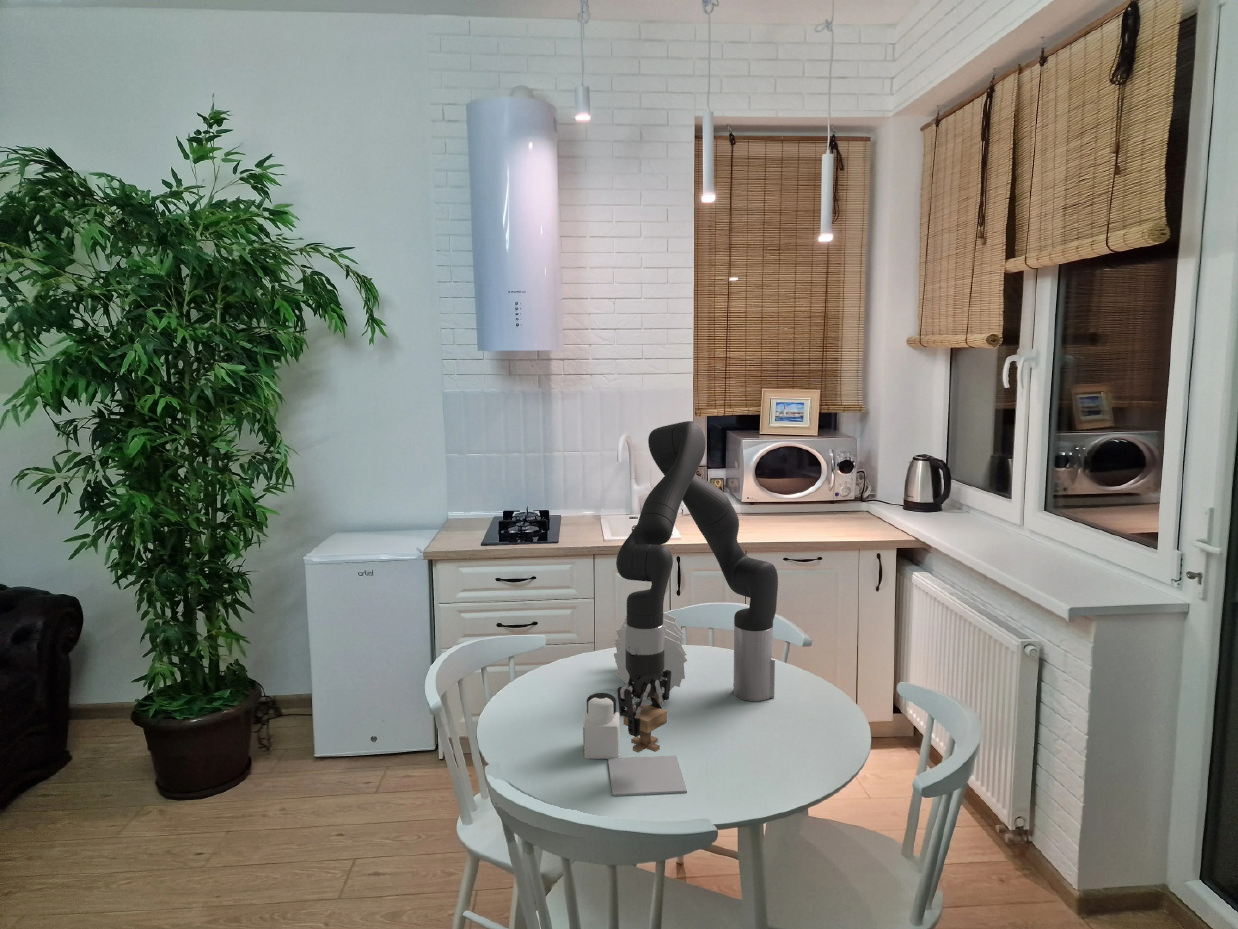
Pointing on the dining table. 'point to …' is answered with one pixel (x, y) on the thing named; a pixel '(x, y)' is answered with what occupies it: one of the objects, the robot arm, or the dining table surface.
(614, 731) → the blocky figurine
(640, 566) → the robot arm
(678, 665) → the spiral staircase
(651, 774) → the mat
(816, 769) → the dining table surface
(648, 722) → the wooden pedestal stool
